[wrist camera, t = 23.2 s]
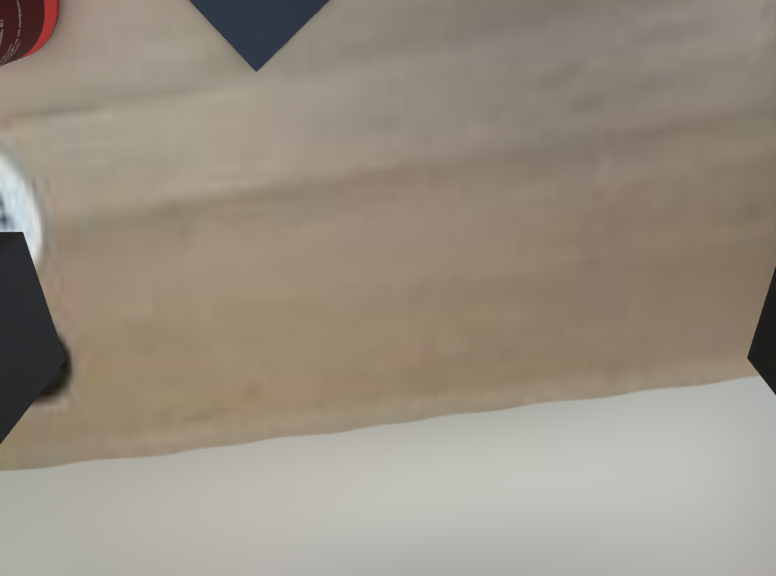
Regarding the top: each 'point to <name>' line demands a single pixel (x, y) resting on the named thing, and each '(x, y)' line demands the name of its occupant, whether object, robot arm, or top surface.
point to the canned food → (25, 27)
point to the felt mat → (258, 23)
